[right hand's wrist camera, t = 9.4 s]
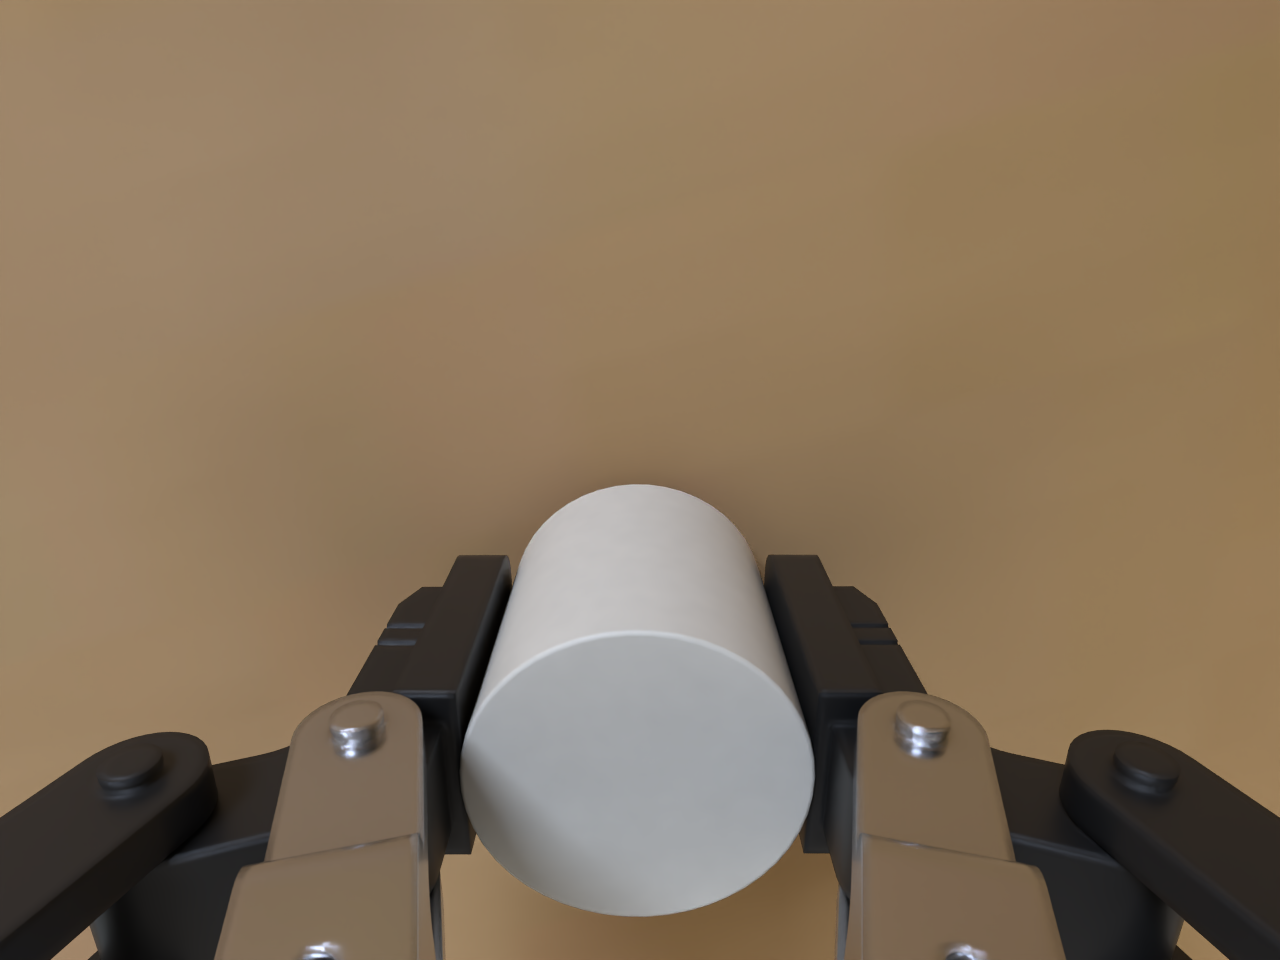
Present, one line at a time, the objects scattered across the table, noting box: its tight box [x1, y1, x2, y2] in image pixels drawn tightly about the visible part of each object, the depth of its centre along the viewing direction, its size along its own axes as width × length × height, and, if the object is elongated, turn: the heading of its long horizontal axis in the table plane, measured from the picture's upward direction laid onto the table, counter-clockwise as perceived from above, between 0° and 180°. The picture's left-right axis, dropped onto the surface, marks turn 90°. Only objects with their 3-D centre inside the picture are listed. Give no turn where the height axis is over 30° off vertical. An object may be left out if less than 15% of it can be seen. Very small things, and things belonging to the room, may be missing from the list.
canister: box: [459, 484, 815, 917], centre depth 11 cm, size 4×4×4 cm
